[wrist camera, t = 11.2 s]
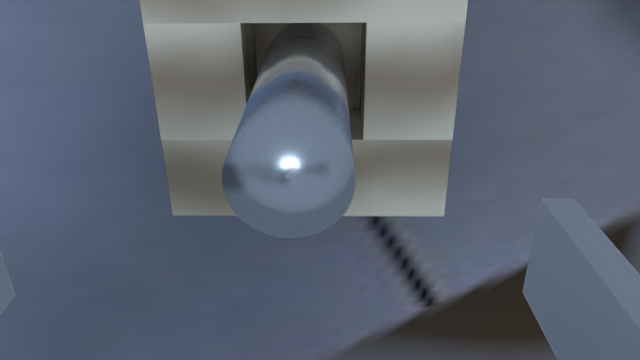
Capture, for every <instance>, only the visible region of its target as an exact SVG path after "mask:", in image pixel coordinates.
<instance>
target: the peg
mask: <svg viewBox="0 0 640 360" xmlns="http://www.w3.org/2000/svg"><path fill="white" fill-rule="evenodd" d="M222 185H223V191H224V194H225V197H226V199H227V201H228V203H229V205H230V207H231V208H232V210H233V211H234V213H235V214H236V215H237V216H238V217H239V218H240V219H241V220H242V221H243V222H244V223H245V224H247V225H248V226H250V227H251V228H253V229H255V230H257V231H258V232H261V233H263V234H266V235H269V236H272V237H277V238H284V239H298V238H305V237H309V236H313V235H316V234H318V233H321V232H323V231H325V230H326V229H328V228H330V227H331V226H332V225H334V224H335V223H336V222H337V221H338V220H339V219H340V218H341V217H342V216H343V215H344V214H345V212H346V211H347V209H348V207H349V206H350V204H351V201H352V199H353V195H354V191H355V170H354V159H353V149H352V139H351V129H350V118H349V108H348V98H347V88H346V77H345V67H344V57H343V50H342V47H341V44H340V42H339V40H338V38H337V37H336V36H335V34H334V33H333V32H332V31H331V30H330V29H328V28H327V27H325V26H324V25H322V24H320V23H291V24H288V25H287V26H285V27H283V28H282V29H281V30H280V31H279V32H278V33H277V34H276V35H275V36H274V38H273V40H272V42H271V44H270V46H269V49H268V51H267V54H266V57H265V59H264V62H263V64H262V67H261V69H260V72H259V74H258V77H257V79H256V82H255V85H254V87H253V90H252V92H251V95H250V97H249V100H248V102H247V105H246V107H245V110H244V113H243V115H242V118H241V120H240V123H239V125H238V128H237V130H236V133H235V136H234V138H233V141H232V143H231V146H230V148H229V151H228V153H227V156H226V158H225V161H224V165H223V170H222Z"/></svg>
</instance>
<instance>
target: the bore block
mask: <svg viewBox="0 0 640 360" xmlns="http://www.w3.org/2000/svg"><path fill="white" fill-rule="evenodd" d="M467 5H468V0H140V6H141V13H142V19H143V26H144V32H145V39H146V45H147V52H148V58H149V65H150V71H151V78H152V84H153V91H154V97H155V104H156V110H157V116H158V123H159V129H160V136H161V142H162V149H163V155H164V162H165V168H166V175H167V181H168V188H169V194H170V201H171V207H172V214H173V216H237V215H236V214H235V213H234V211H233V210H232V208H231V207H230V205H229V203H228V201H227V199H226V197H225V194H224V191H223V185H222V170H223V165H224V161H225V158H226V156H227V153H228V151H229V148H230V146H231V143H232V141H233V138H234V136H235V133H236V130H237V128H238V125H239V123H240V120H241V118H242V115H243V113H244V110H245V107H246V105H247V102H248V100H249V97H250V95H251V92H252V90H253V87H254V85H255V82H256V79H257V77H258V74H259V72H260V69H261V67H262V64H263V62H264V59H265V57H266V54H267V51H268V49H269V46H270V44H271V42H272V40H273V38H274V36H275V35H276V34H277V33H278V32H279V31H280V30H281V29H282V28H283V27H285V26H287V25H288V24H291V23H320V24H322V25H324V26H325V27H327V28H328V29H330V30H331V31H332V32H333V33H334V34H335V36H336V37H337V38H338V40H339V42H340V44H341V47H342V50H343V57H344V67H345V77H346V88H347V98H348V108H349V118H350V129H351V139H352V149H353V159H354V170H355V191H354V195H353V199H352V201H351V204H350V206H349V207H348V209H347V211H346V212H345V214H344V215H343V216H444V211H445V202H446V193H447V184H448V176H449V167H450V158H451V149H452V140H453V131H454V122H455V113H456V104H457V95H458V86H459V77H460V68H461V59H462V50H463V41H464V32H465V23H466V14H467Z"/></svg>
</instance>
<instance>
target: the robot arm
mask: <svg viewBox="0 0 640 360" xmlns="http://www.w3.org/2000/svg"><path fill="white" fill-rule="evenodd" d="M523 294H524V296H525V298H526V300H527V302H528V304H529V305H530V308H531V309H532V311H533V313H534V315H535V317H536V319H537V321H538V323H539V324H540V327H541V329H542V330H543V332H544V334H545V336H546V338H547V340H548V342H549V344H550V346H551V348H552V350H553V352H554V354H555V356H556V357H557V359H558V360H640V275H639V273H638V272H637V271H636V270H635V269H634V268H633V266H632V265H631V264H630V263H629V262H628V261H627V259H626V258H625V257H624V256H623V255H622V254H621V253H620V251H619V250H618V249H617V248H616V247H615V246H614V244H613V243H612V242H611V241H610V240H609V239H608V237H607V236H606V235H605V234H604V233H603V232H602V231H601V229H600V228H599V227H598V226H597V225H596V224H595V222H594V221H593V220H592V219H591V218H590V217H589V215H588V214H587V213H586V212H585V211H584V210H583V208H582V207H581V206H580V205H579V204H578V203H577V202H576V200H575V199H574V198H573V199H541V202H540V207H539V212H538V217H537V222H536V227H535V232H534V237H533V242H532V247H531V252H530V257H529V262H528V267H527V273H526V277H525V282H524V287H523ZM15 296H16V294H15V291H14V288H13V285H12V282H11V279H10V275H9V272H8V269H7V266H6V263H5V260H4V257H3V254H2V251H1V248H0V315H1V314H2V313H3V311H4V310H5V309H6V308H7V306H8V305H9V304H10V302H11V301H12V300H13V299H14V297H15Z"/></svg>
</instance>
